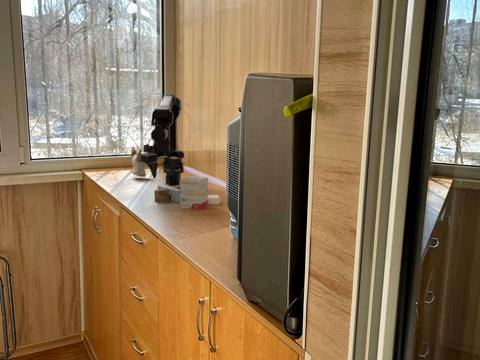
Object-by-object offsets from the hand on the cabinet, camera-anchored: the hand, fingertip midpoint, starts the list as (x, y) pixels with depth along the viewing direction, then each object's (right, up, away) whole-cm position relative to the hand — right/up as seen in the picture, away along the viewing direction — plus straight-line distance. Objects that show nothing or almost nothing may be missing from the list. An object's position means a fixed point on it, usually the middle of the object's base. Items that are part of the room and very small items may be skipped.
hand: (163, 176), depth 202 cm
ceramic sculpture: (-17, 0, +40) cm, 44 cm away
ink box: (+14, -12, -10) cm, 21 cm away
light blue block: (+3, -10, 0) cm, 10 cm away
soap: (+19, -11, -4) cm, 22 cm away
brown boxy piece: (+3, -10, 0) cm, 10 cm away
